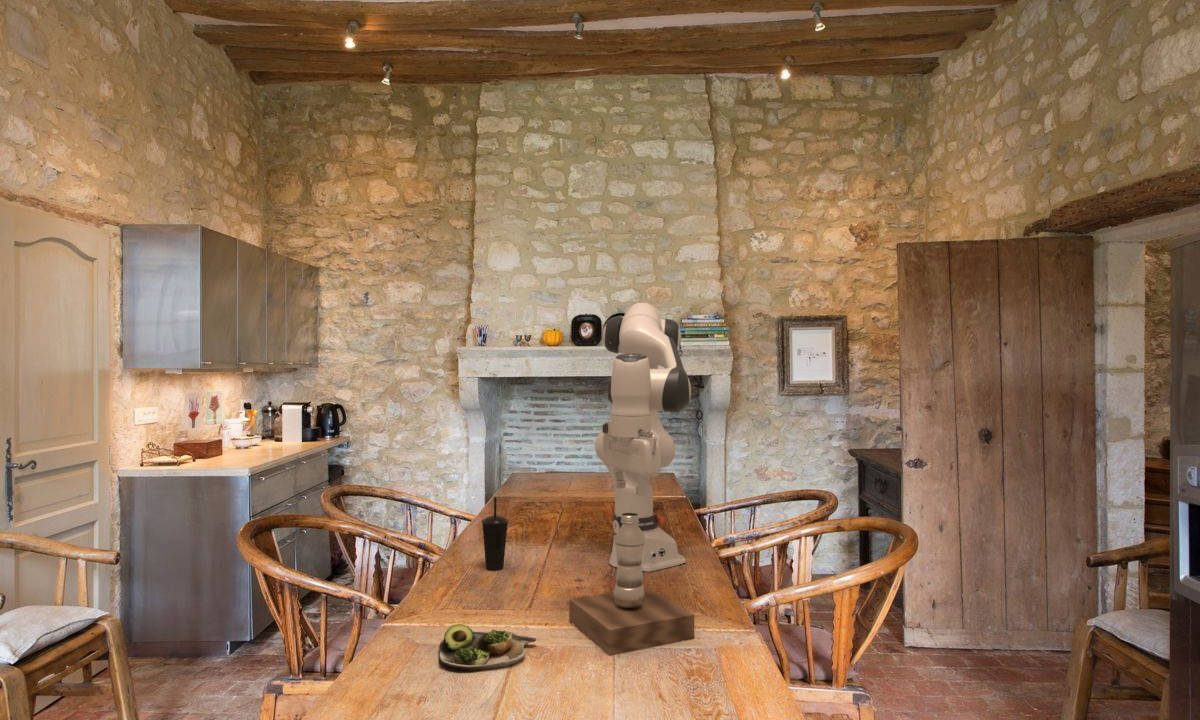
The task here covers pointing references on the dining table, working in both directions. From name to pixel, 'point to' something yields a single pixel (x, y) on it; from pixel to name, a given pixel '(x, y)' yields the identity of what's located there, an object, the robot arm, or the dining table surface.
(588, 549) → the dining table surface
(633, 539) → the plastic bottle
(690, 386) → the robot arm
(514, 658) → the avocado toast plate
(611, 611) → the walnut base
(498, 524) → the drinking cup
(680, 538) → the dining table surface
